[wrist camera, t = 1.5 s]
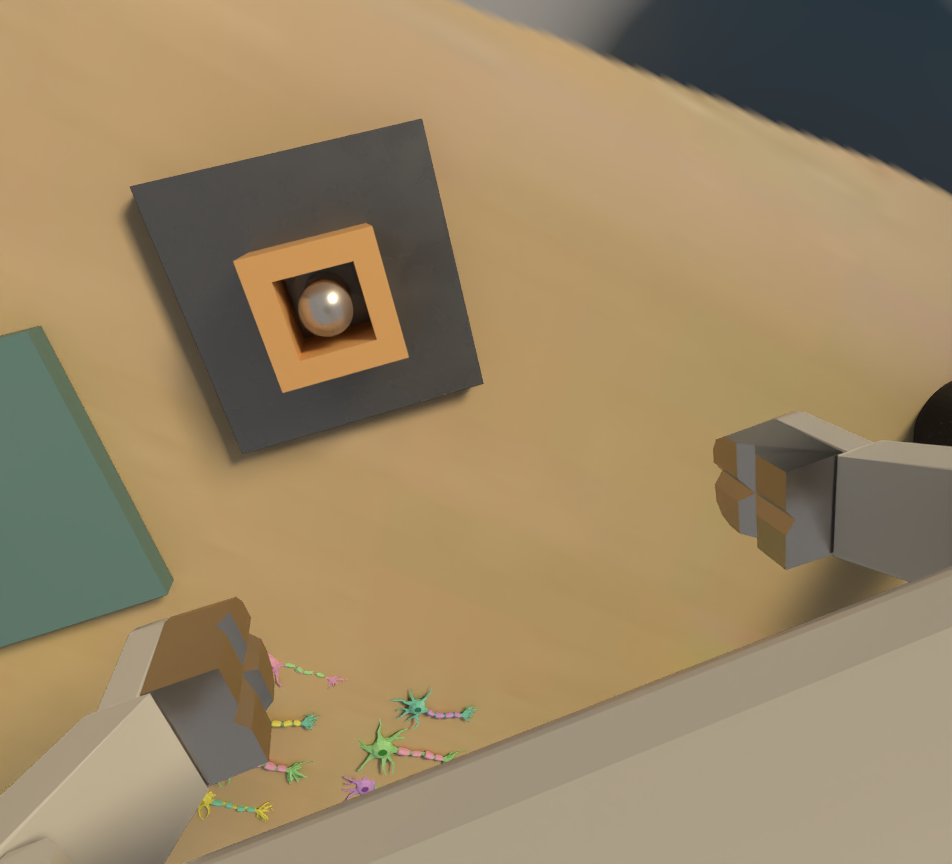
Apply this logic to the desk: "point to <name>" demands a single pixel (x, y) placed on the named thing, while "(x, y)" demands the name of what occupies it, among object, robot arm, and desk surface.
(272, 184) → the stand
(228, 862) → the robot arm
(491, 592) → the desk surface
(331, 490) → the desk surface
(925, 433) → the travel mug
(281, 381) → the collar
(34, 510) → the hub plate
